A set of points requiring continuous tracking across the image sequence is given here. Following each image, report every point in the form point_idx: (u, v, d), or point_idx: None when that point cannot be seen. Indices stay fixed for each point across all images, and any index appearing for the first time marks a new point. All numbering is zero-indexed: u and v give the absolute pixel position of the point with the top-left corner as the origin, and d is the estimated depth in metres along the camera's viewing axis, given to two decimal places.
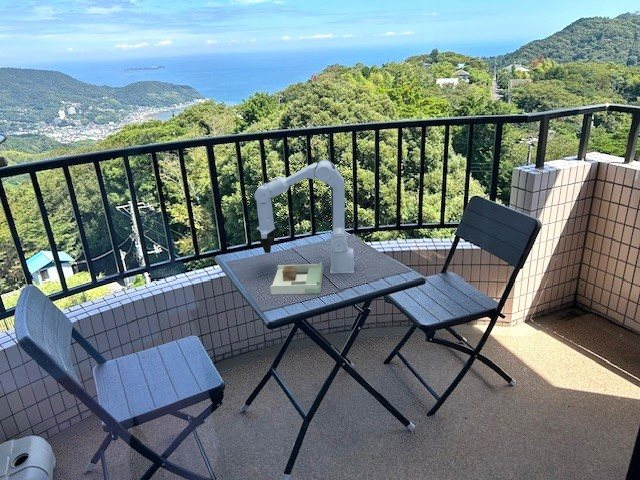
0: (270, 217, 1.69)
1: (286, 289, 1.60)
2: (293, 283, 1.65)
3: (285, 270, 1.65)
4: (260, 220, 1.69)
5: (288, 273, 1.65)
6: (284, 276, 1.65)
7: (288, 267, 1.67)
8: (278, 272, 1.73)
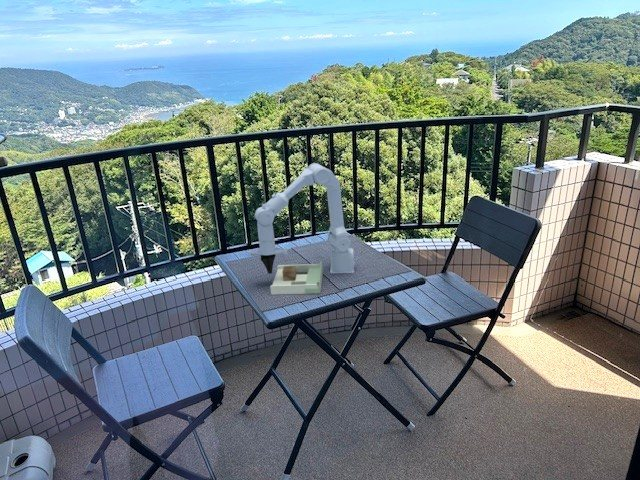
0: (260, 241, 1.61)
1: (286, 289, 1.60)
2: (293, 283, 1.65)
3: (285, 270, 1.65)
4: None
5: (288, 273, 1.65)
6: (284, 276, 1.65)
7: (288, 267, 1.67)
8: (278, 272, 1.73)
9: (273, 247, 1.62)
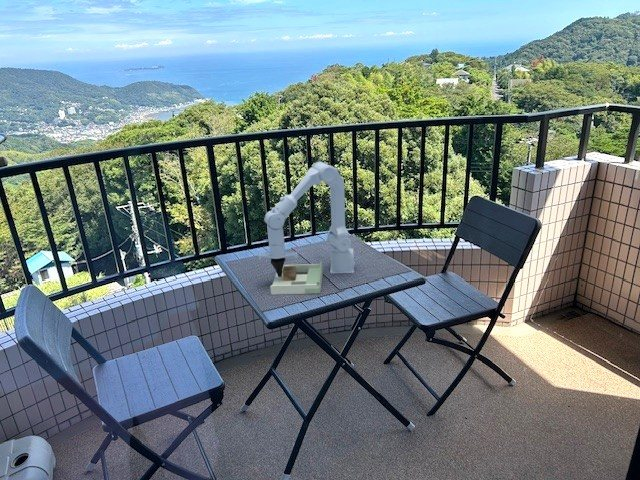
0: (270, 244, 1.61)
1: (286, 289, 1.60)
2: (293, 283, 1.65)
3: (285, 270, 1.65)
4: None
5: (288, 273, 1.65)
6: (284, 276, 1.65)
7: (288, 267, 1.67)
8: None
9: (283, 250, 1.63)
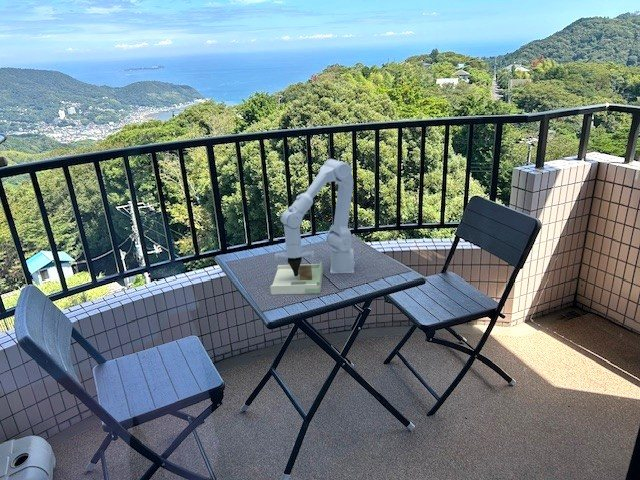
0: (288, 244, 1.60)
1: (286, 289, 1.60)
2: (293, 283, 1.65)
3: (302, 269, 1.65)
4: None
5: (305, 272, 1.64)
6: (301, 275, 1.65)
7: (304, 266, 1.67)
8: (278, 272, 1.73)
9: (300, 250, 1.62)
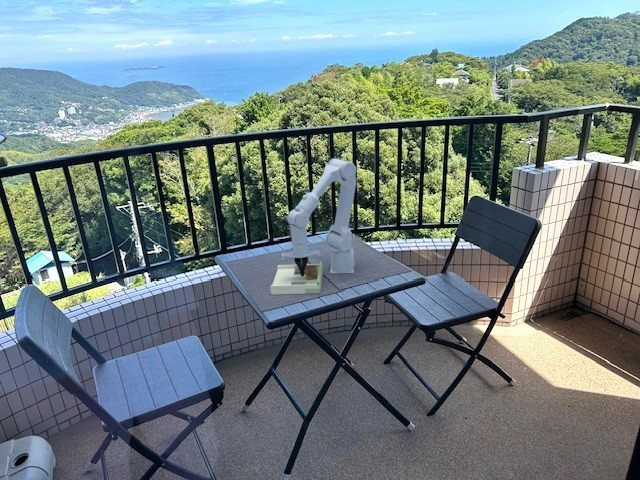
0: (295, 243, 1.60)
1: (286, 289, 1.60)
2: (293, 283, 1.65)
3: (308, 269, 1.65)
4: None
5: (311, 272, 1.65)
6: (307, 275, 1.65)
7: (310, 266, 1.67)
8: (278, 272, 1.73)
9: (307, 249, 1.62)
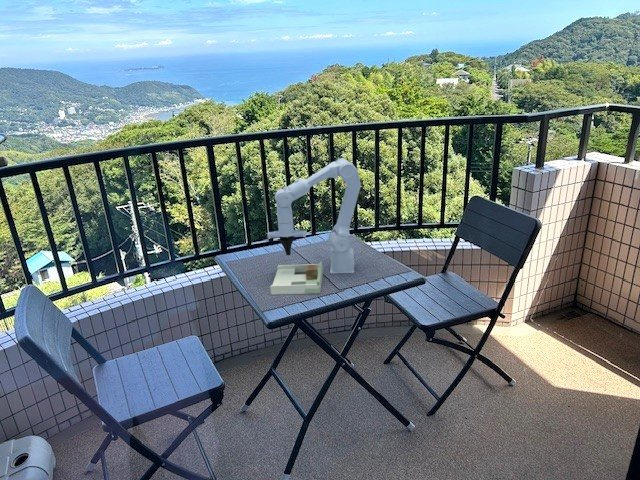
0: (280, 223, 1.64)
1: (286, 289, 1.60)
2: (293, 283, 1.65)
3: (308, 269, 1.65)
4: None
5: (311, 272, 1.65)
6: (307, 275, 1.65)
7: (310, 266, 1.67)
8: (278, 272, 1.73)
9: (292, 229, 1.66)
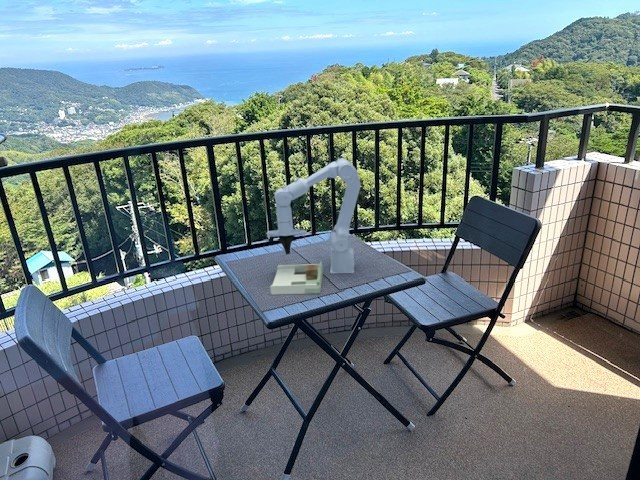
0: (279, 222, 1.65)
1: (286, 289, 1.60)
2: (293, 283, 1.65)
3: (308, 269, 1.65)
4: None
5: (311, 272, 1.65)
6: (307, 275, 1.65)
7: (310, 266, 1.67)
8: (278, 272, 1.73)
9: (291, 228, 1.67)
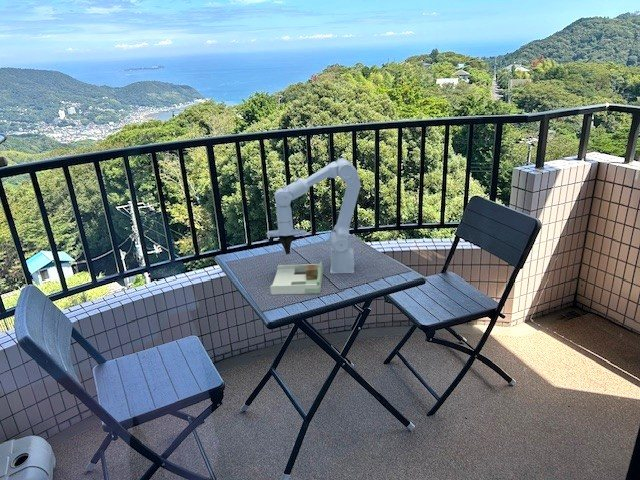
0: (279, 222, 1.65)
1: (286, 289, 1.60)
2: (293, 283, 1.65)
3: (308, 269, 1.65)
4: None
5: (311, 272, 1.65)
6: (307, 275, 1.65)
7: (310, 266, 1.67)
8: (278, 272, 1.73)
9: (291, 228, 1.67)
